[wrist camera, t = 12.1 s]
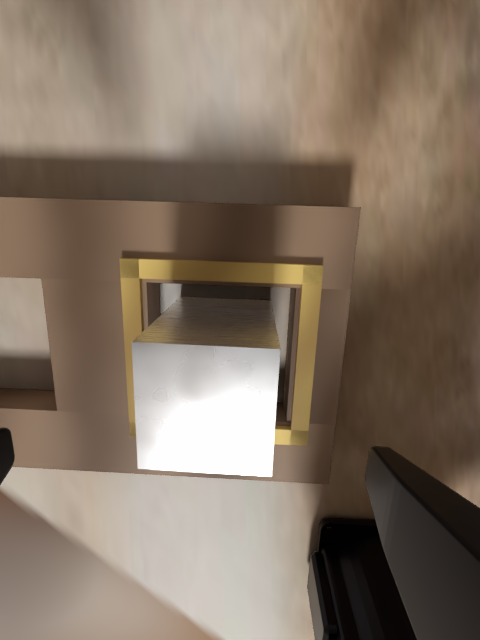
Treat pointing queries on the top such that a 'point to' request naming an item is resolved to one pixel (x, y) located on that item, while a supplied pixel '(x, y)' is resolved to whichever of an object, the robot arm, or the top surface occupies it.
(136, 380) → the white rectangular block
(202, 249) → the rail plate
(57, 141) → the top surface
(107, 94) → the top surface
